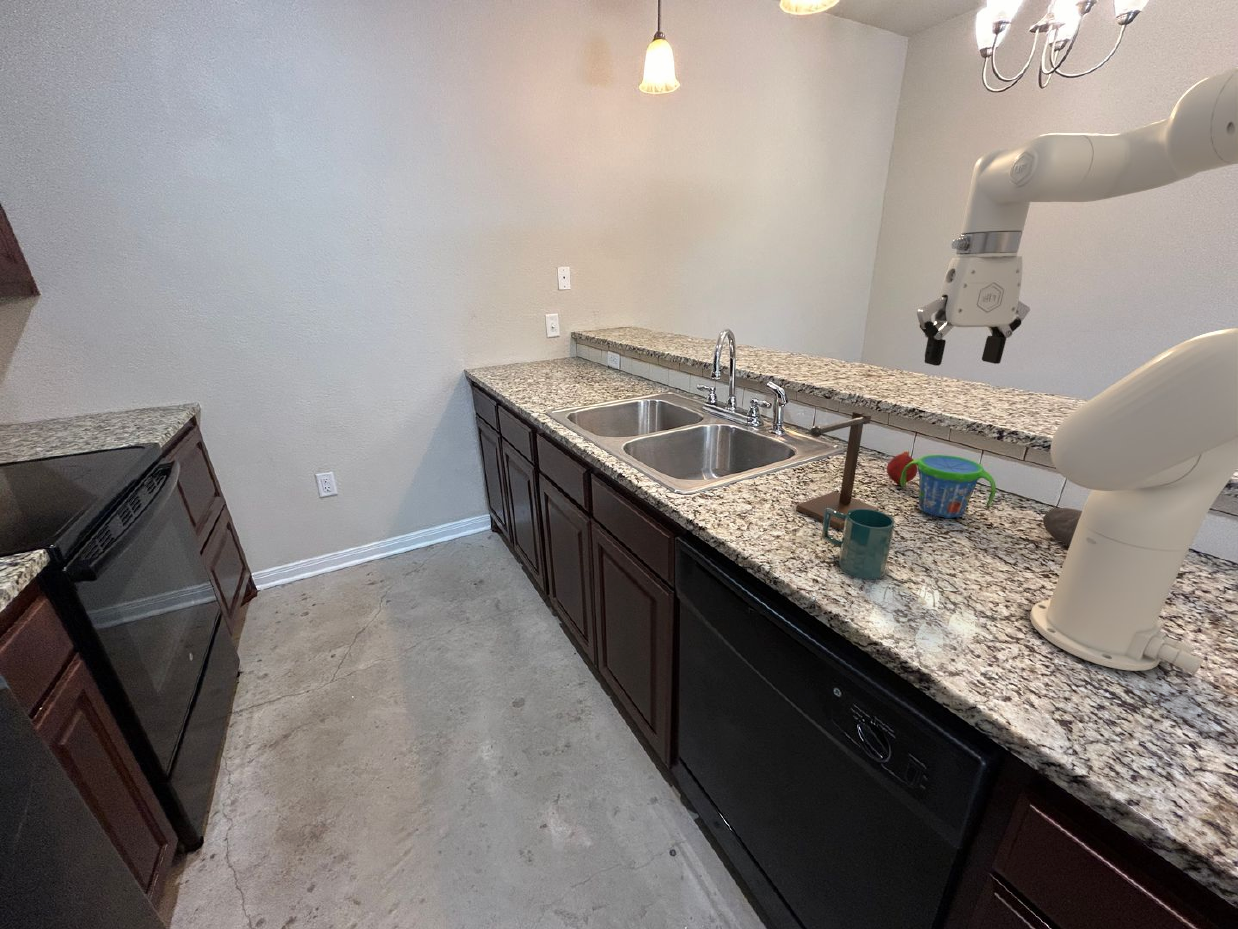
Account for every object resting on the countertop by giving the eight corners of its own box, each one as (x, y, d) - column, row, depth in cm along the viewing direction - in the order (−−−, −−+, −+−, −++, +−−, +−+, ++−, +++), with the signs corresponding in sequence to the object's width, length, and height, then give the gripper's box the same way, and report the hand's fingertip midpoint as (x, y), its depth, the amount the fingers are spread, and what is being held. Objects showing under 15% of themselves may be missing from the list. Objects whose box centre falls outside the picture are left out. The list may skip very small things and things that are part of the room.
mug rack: (878, 513, 98) (896, 416, 91) (817, 538, 90) (832, 432, 83) (834, 496, 106) (847, 405, 99) (775, 517, 98) (785, 419, 91)
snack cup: (887, 506, 101) (896, 459, 98) (909, 491, 108) (918, 447, 104) (975, 534, 90) (989, 482, 86) (994, 516, 96) (1008, 467, 93)
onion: (887, 488, 110) (893, 454, 107) (882, 478, 115) (888, 445, 112) (916, 491, 108) (923, 456, 105) (910, 481, 113) (917, 447, 110)
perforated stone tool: (1028, 531, 91) (1038, 496, 88) (1054, 529, 91) (1065, 494, 89) (1113, 577, 77) (1129, 538, 74) (1143, 575, 77) (1160, 535, 75)
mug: (893, 570, 80) (904, 520, 77) (867, 584, 77) (877, 532, 73) (832, 541, 89) (840, 495, 86) (807, 552, 86) (813, 505, 82)
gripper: (948, 246, 70) (924, 369, 76) (1066, 244, 70) (1032, 365, 77) (915, 249, 77) (895, 361, 83) (1022, 247, 77) (995, 357, 84)
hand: (961, 363), depth 80 cm, fingers open, 9 cm apart
